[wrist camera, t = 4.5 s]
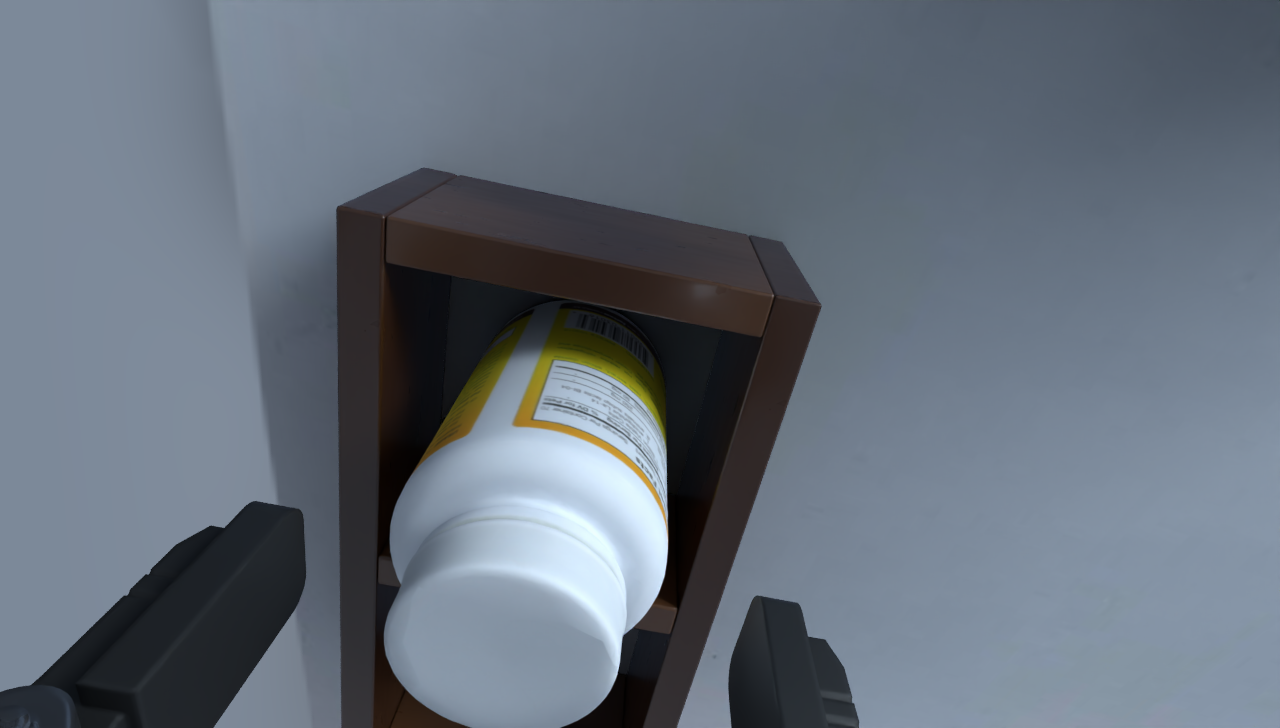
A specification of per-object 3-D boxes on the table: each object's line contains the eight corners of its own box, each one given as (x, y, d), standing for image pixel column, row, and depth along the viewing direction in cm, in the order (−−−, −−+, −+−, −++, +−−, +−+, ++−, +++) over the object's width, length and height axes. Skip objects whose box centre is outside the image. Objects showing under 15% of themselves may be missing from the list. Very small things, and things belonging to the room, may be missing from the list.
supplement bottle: (506, 459, 21) (382, 771, 12) (469, 301, 19) (278, 537, 10) (675, 448, 21) (681, 762, 12) (658, 284, 18) (650, 514, 9)
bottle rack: (399, 653, 25) (340, 782, 21) (421, 166, 17) (334, 205, 13) (646, 695, 26) (642, 830, 21) (783, 241, 18) (822, 305, 13)
